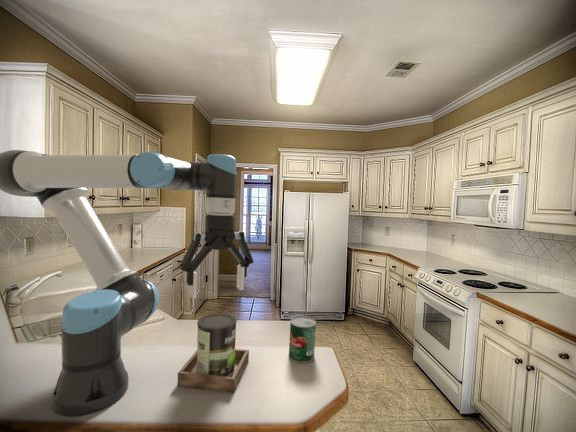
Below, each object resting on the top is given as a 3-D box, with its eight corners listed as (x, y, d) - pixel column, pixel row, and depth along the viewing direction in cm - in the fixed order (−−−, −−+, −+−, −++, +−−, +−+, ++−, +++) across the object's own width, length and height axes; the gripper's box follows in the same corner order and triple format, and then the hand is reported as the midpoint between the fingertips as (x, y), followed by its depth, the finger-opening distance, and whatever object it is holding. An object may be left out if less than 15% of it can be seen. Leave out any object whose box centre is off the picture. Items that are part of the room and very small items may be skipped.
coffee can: (240, 363, 86) (242, 315, 85) (225, 385, 76) (227, 330, 75) (207, 358, 88) (208, 311, 87) (188, 378, 78) (189, 325, 77)
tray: (177, 386, 76) (177, 372, 75) (201, 356, 90) (201, 345, 90) (233, 393, 74) (234, 379, 74) (248, 361, 88) (248, 350, 88)
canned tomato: (285, 359, 90) (286, 324, 90) (293, 347, 98) (294, 314, 97) (310, 365, 88) (312, 328, 87) (316, 352, 95) (318, 318, 95)
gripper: (177, 215, 69) (175, 305, 70) (267, 215, 84) (264, 289, 86) (167, 212, 75) (165, 296, 76) (253, 213, 90) (250, 282, 91)
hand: (217, 293), depth 81 cm, fingers open, 13 cm apart
